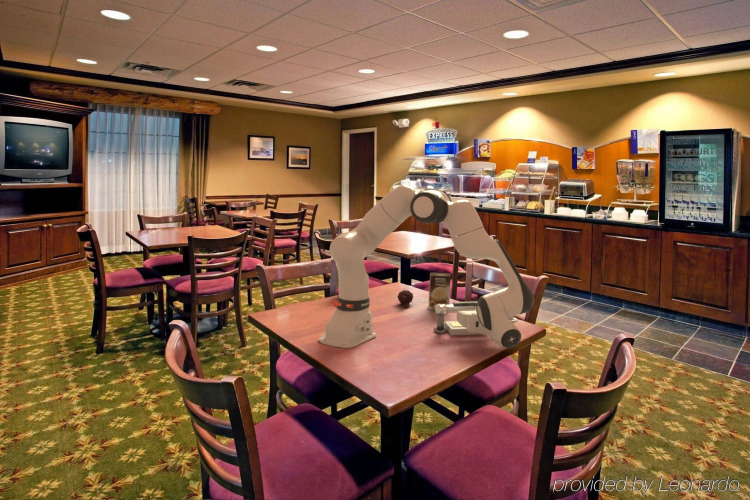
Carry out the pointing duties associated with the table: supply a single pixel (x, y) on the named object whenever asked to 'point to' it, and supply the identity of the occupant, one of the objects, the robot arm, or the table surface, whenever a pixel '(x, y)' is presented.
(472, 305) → the bar
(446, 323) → the block
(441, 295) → the coffee box
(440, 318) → the post
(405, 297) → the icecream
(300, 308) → the table surface
